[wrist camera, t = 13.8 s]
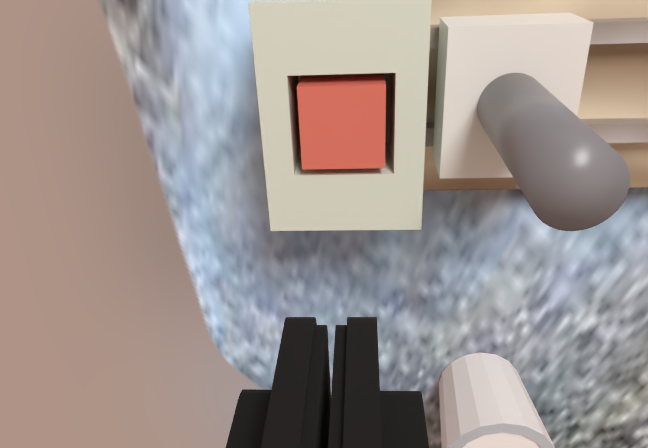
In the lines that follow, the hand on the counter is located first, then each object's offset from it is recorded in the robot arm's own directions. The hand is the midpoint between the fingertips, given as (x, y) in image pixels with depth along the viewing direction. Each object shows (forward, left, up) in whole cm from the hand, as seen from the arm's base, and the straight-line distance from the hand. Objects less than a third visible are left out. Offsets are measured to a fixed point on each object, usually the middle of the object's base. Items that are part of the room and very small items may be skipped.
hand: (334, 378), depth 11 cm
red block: (0, 0, -19) cm, 19 cm away
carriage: (0, -7, -20) cm, 22 cm away
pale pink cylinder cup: (-22, -9, -23) cm, 33 cm away
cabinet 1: (0, 0, -23) cm, 23 cm away
